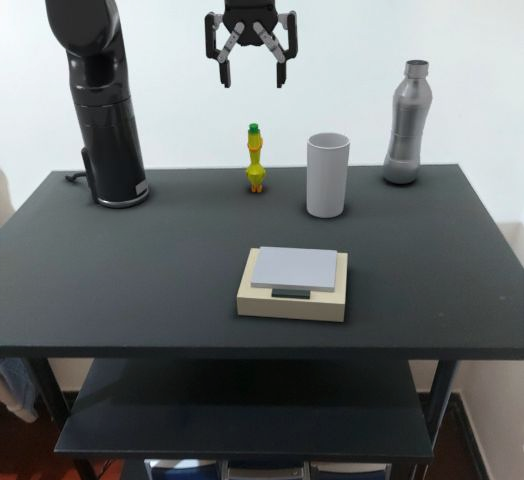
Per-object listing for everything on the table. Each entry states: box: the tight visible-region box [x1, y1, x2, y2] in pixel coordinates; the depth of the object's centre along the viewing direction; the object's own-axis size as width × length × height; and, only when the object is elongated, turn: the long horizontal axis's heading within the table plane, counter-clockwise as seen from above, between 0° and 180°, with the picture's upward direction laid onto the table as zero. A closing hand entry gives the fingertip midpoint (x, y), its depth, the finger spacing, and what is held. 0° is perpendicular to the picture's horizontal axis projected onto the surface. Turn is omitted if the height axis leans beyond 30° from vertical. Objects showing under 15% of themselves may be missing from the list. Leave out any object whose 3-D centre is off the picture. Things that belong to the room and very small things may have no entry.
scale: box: [236, 246, 348, 323], centre depth 75 cm, size 14×12×4 cm
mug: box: [306, 131, 351, 219], centre depth 90 cm, size 10×7×12 cm, turn 167°
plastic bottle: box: [382, 59, 434, 185], centre depth 94 cm, size 6×7×20 cm
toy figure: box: [245, 122, 267, 193], centre depth 96 cm, size 7×4×12 cm, turn 174°
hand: (253, 86), depth 88 cm, fingers open, 8 cm apart
